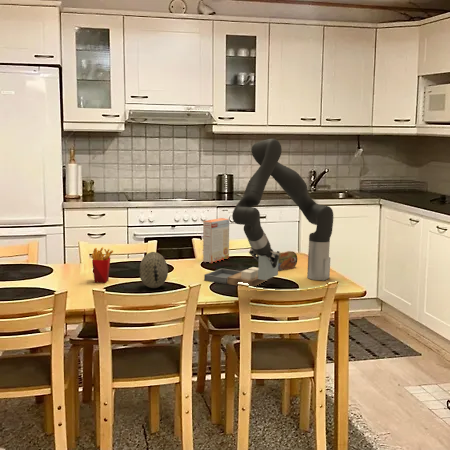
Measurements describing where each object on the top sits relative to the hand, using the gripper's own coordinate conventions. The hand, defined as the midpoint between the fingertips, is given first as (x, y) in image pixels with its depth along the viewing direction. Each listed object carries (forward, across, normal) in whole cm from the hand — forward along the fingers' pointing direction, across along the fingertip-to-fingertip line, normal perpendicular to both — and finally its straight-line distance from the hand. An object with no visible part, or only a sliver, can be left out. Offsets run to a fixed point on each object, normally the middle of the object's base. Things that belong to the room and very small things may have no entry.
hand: (270, 265), depth 262 cm
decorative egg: (-16, +38, +29) cm, 50 cm away
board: (+5, +10, +7) cm, 13 cm away
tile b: (+1, +8, +7) cm, 11 cm away
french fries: (-19, +61, +33) cm, 72 cm away
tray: (+5, +22, +7) cm, 23 cm away
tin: (+29, +8, -17) cm, 34 cm away
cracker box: (+26, +44, -14) cm, 53 cm away
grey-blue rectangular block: (+2, 0, +5) cm, 5 cm away
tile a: (+5, +8, +3) cm, 10 cm away
